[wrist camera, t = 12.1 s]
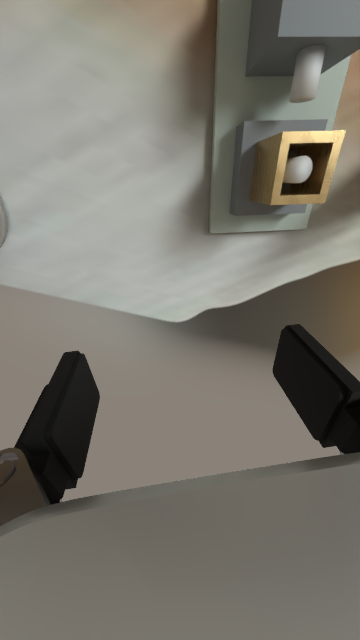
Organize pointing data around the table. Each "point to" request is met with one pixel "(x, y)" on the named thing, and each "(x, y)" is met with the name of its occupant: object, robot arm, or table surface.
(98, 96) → the table surface
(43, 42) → the table surface
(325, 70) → the coupling rig
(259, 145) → the hollow wooden square tube
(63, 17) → the table surface
